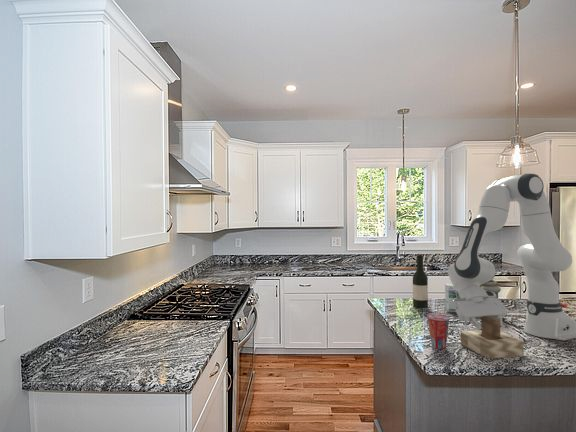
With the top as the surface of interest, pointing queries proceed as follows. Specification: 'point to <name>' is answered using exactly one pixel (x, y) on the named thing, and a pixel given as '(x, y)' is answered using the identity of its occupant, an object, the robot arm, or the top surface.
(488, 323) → the walnut peg
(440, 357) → the top surface
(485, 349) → the socket block
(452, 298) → the syrup box
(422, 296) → the wine bottle
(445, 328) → the cup
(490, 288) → the grey ceramic vase
